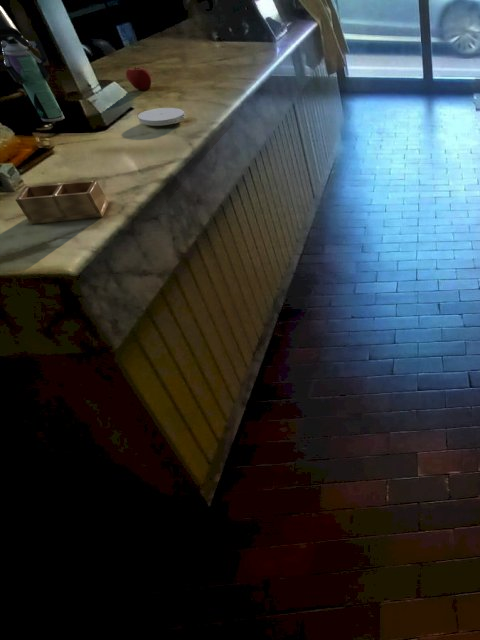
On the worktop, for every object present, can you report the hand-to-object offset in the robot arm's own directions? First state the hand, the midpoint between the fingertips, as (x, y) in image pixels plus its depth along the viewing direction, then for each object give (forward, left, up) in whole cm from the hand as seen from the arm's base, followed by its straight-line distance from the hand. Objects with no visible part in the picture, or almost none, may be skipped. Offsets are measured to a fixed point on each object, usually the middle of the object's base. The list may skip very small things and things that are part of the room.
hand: (34, 80), depth 141 cm
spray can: (-1, +2, -10) cm, 11 cm away
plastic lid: (+22, +23, -19) cm, 37 cm away
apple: (+10, +66, -19) cm, 69 cm away
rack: (+9, -45, -19) cm, 50 cm away
